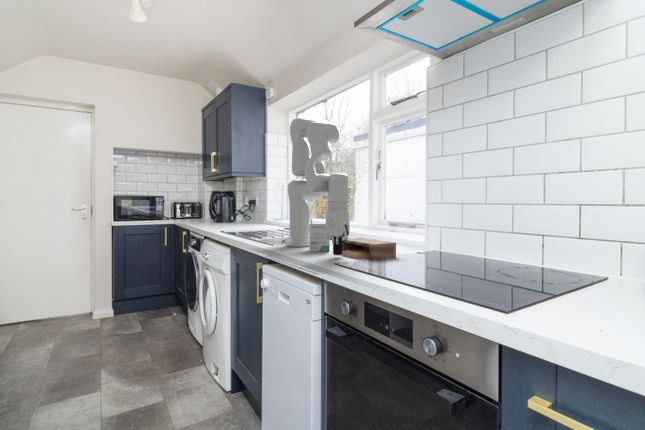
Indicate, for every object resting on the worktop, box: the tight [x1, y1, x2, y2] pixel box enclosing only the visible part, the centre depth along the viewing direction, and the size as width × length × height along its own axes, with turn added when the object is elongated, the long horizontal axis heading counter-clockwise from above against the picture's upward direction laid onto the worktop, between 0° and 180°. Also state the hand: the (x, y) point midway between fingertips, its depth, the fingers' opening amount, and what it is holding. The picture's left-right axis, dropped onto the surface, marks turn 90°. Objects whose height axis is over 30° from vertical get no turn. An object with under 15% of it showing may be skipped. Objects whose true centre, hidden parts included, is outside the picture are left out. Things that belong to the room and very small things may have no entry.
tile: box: [341, 248, 370, 260], centre depth 137 cm, size 9×14×2 cm, turn 123°
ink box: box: [308, 223, 331, 253], centre depth 150 cm, size 9×5×12 cm, turn 84°
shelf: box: [342, 237, 397, 260], centre depth 139 cm, size 22×11×6 cm, turn 33°
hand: (337, 254), depth 132 cm, fingers closed
